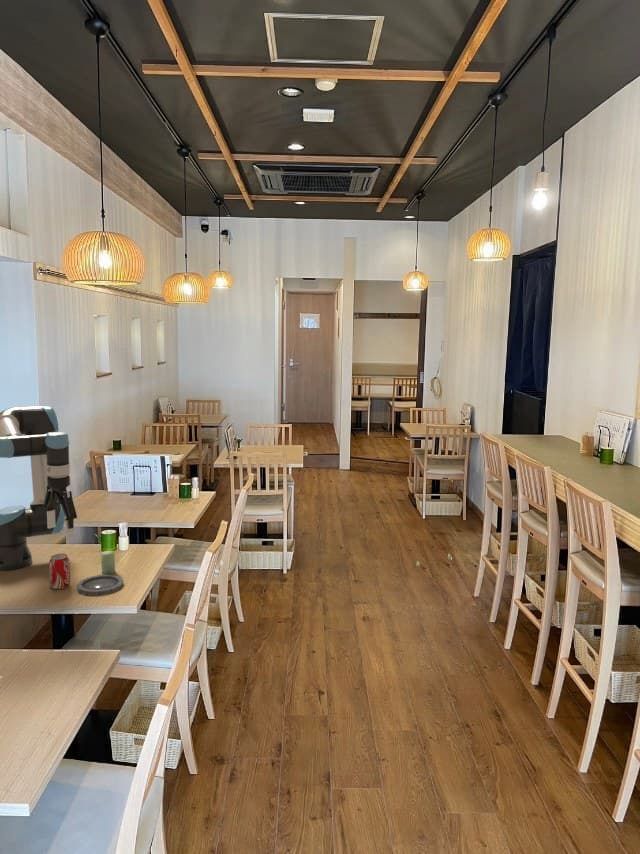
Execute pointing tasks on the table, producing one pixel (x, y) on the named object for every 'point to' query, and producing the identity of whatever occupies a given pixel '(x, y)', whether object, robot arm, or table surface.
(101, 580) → the saucer
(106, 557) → the tea canister
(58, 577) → the soda can
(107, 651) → the table surface
